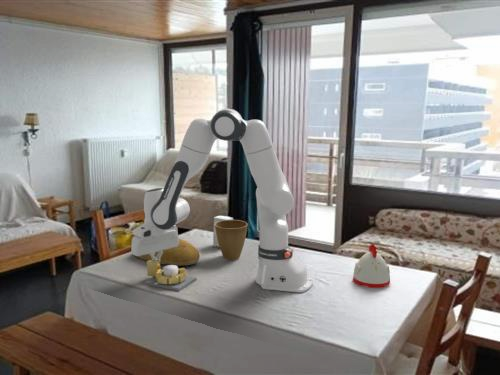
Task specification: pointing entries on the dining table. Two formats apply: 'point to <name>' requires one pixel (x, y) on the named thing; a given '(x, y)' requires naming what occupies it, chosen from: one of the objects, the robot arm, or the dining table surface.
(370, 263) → the white knit hat
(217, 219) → the skincare box
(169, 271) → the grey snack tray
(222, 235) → the plant pot
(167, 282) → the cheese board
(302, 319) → the dining table surface
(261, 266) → the robot arm
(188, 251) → the bread
